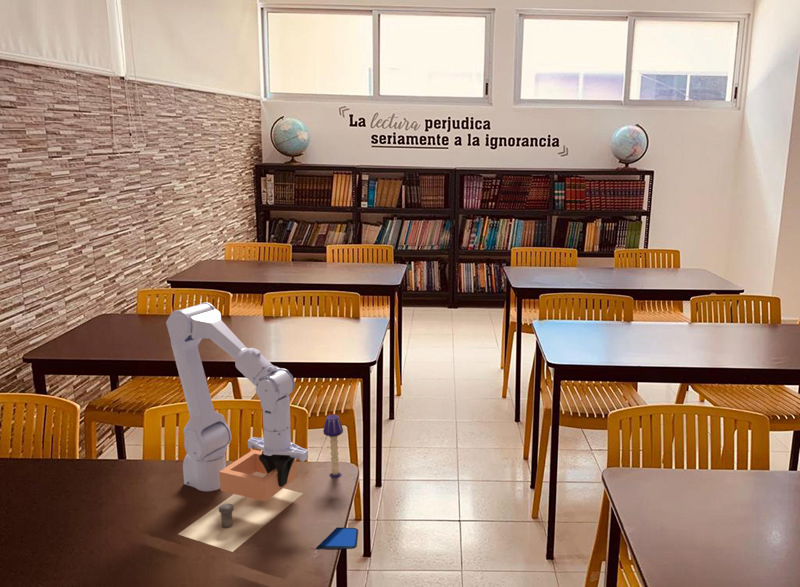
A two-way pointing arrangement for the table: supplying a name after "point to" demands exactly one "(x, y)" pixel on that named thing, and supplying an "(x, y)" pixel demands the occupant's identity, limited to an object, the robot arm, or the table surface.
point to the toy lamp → (333, 441)
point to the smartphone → (340, 539)
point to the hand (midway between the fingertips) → (278, 483)
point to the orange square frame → (252, 478)
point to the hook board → (237, 519)
